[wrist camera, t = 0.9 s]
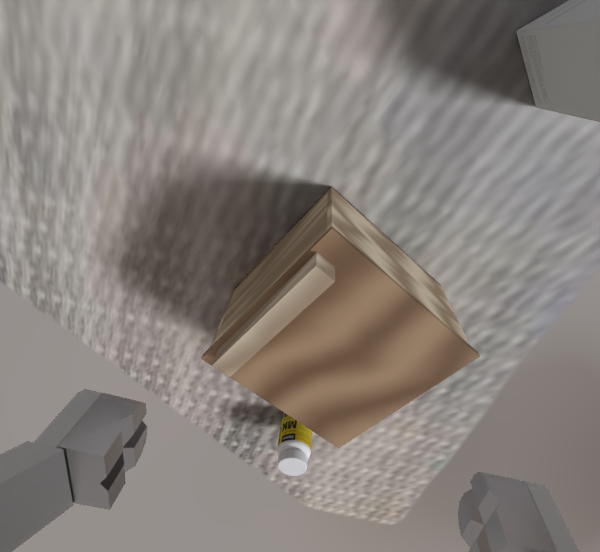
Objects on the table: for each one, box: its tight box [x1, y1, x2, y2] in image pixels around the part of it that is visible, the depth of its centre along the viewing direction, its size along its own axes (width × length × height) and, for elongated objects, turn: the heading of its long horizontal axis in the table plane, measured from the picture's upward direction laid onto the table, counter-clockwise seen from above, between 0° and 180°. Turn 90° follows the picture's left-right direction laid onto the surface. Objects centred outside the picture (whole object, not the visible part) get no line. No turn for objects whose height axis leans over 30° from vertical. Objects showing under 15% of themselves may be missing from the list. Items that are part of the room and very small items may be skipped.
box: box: [210, 186, 469, 347], centre depth 43 cm, size 18×18×12 cm
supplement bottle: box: [278, 413, 312, 476], centre depth 56 cm, size 5×5×8 cm
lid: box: [201, 226, 480, 448], centre depth 36 cm, size 19×19×3 cm
